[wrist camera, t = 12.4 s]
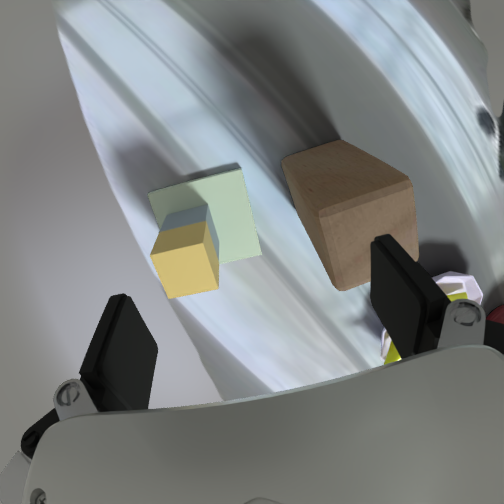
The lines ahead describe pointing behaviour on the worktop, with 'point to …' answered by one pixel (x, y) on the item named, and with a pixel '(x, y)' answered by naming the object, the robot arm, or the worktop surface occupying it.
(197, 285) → the ochre brick
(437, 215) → the worktop surface
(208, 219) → the slate brick
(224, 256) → the plate
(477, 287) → the fruit bowl
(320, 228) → the block
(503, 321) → the canister
